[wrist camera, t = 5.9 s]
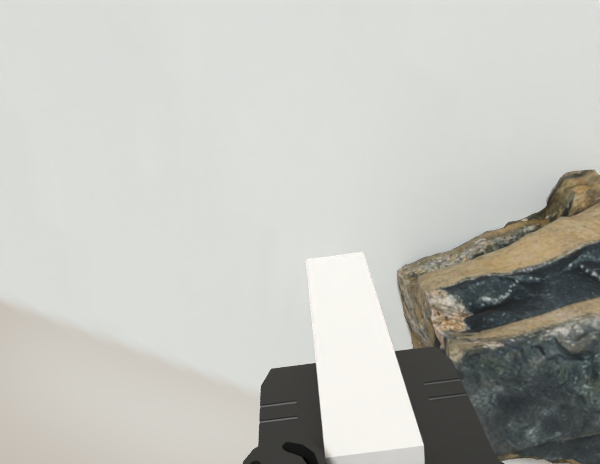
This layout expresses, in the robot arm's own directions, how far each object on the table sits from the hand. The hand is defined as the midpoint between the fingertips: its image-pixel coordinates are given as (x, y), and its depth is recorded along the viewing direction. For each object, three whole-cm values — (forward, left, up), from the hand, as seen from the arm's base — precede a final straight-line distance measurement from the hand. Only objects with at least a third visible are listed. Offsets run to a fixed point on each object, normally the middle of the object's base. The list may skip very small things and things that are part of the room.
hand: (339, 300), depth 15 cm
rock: (+3, +6, -3) cm, 8 cm away
